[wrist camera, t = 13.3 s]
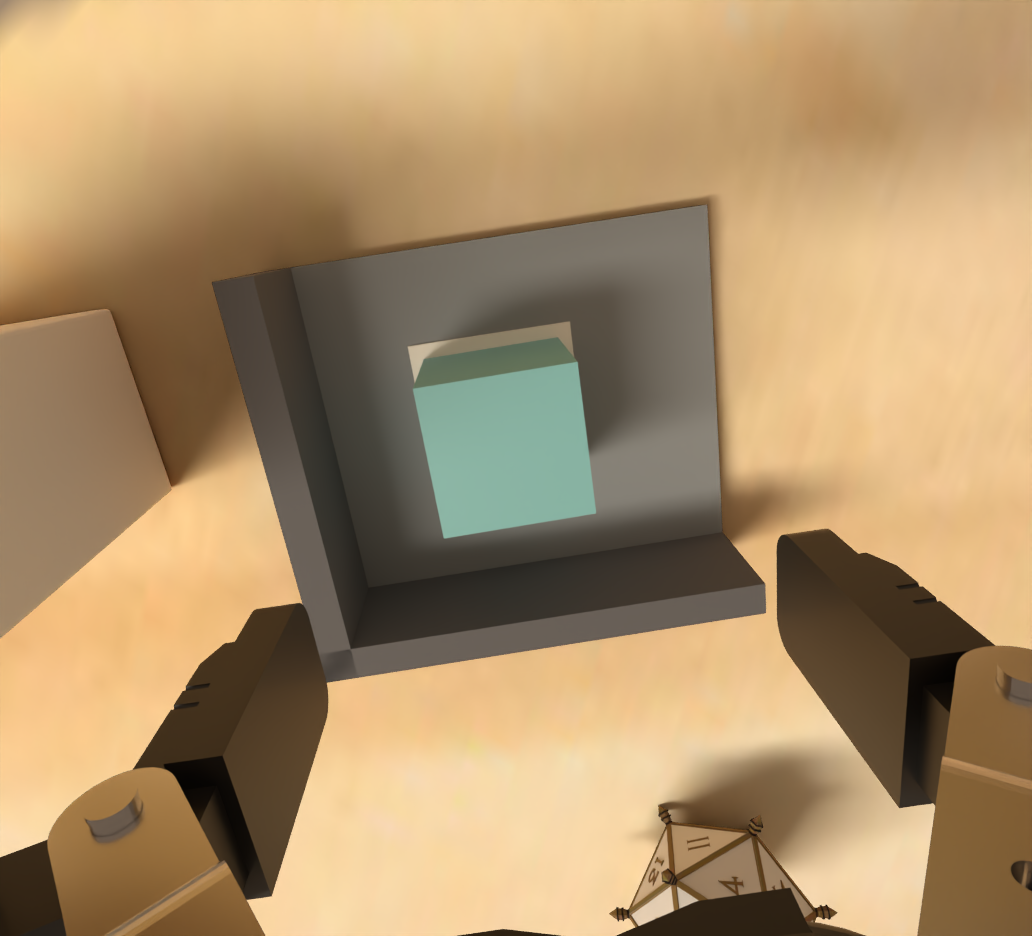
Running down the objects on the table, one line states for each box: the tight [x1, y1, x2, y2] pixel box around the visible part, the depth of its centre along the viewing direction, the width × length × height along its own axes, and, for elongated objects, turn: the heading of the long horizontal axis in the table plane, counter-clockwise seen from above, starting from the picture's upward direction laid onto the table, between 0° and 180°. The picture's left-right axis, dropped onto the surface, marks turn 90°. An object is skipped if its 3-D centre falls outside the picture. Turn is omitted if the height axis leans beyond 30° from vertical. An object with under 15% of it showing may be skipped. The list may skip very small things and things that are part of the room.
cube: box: [413, 337, 596, 539], centre depth 24 cm, size 5×5×5 cm
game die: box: [609, 805, 837, 927], centre depth 31 cm, size 9×8×10 cm
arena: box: [212, 205, 766, 682], centre depth 25 cm, size 16×14×5 cm
